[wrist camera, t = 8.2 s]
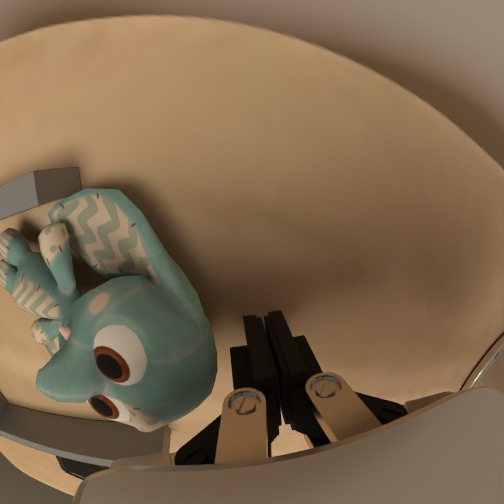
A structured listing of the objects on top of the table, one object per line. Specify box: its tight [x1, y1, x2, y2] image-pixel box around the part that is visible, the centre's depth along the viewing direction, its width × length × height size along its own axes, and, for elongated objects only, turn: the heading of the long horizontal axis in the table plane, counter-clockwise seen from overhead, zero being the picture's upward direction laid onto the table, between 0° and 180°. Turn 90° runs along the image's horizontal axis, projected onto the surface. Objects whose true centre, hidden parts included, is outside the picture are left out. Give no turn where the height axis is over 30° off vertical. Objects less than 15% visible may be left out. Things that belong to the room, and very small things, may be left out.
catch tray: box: [0, 167, 171, 467], centre depth 10 cm, size 18×17×4 cm
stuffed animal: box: [0, 188, 217, 432], centre depth 9 cm, size 11×7×12 cm
